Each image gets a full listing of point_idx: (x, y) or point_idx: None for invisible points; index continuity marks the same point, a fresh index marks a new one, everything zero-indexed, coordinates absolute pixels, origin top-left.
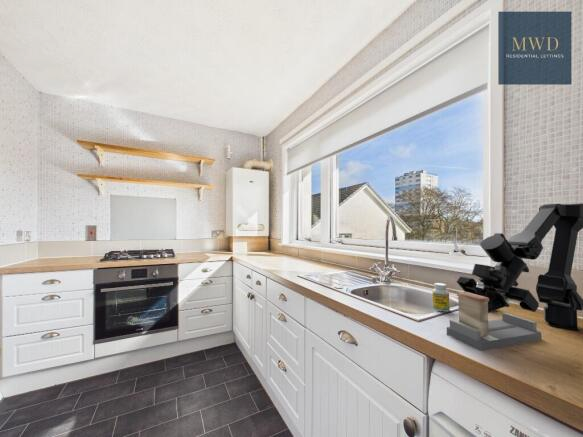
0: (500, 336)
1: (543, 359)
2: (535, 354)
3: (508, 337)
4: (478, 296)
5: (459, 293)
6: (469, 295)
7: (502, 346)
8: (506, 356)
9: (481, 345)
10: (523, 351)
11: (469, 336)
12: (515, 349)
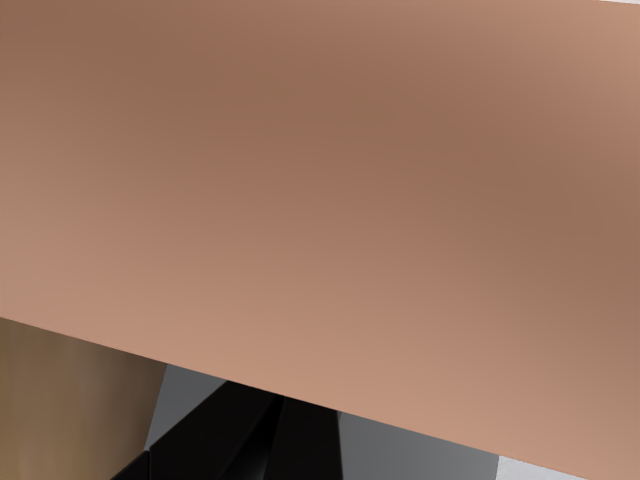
0: (196, 398)
1: (8, 373)
2: (47, 413)
3: (154, 436)
4: (81, 172)
5: (604, 9)
6: (279, 42)
7: None
8: None
9: None
10: (100, 395)
11: None
12: (137, 382)
